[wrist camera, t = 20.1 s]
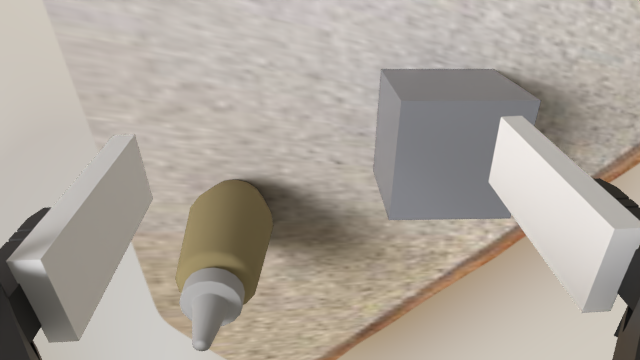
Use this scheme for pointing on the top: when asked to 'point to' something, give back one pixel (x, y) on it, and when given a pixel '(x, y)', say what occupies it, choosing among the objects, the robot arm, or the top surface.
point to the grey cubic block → (443, 141)
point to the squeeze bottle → (222, 256)
